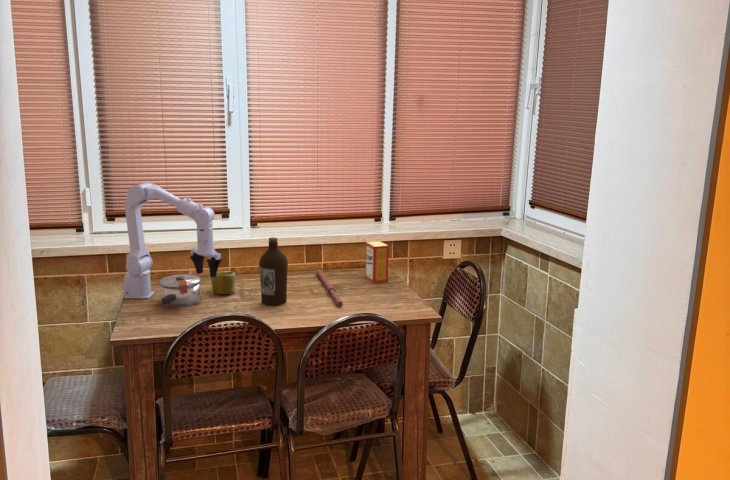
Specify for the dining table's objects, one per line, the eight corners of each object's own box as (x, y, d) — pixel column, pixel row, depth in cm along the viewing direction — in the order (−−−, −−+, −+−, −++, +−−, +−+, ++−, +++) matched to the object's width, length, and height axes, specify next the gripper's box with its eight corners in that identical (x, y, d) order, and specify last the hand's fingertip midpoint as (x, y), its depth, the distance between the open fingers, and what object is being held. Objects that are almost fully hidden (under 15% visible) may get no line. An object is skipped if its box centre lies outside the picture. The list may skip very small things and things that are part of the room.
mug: (232, 293, 248) (226, 268, 249) (209, 299, 251) (203, 274, 251) (246, 290, 260) (240, 266, 260) (224, 296, 263) (218, 272, 263)
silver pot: (172, 294, 252) (171, 277, 250) (206, 296, 250) (205, 279, 248) (147, 311, 233) (146, 292, 231) (184, 313, 230) (183, 295, 229)
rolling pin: (343, 308, 241) (344, 299, 240) (335, 308, 240) (335, 300, 239) (322, 275, 283) (322, 268, 283) (315, 275, 283) (315, 268, 282)
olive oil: (271, 296, 252) (270, 233, 246) (293, 300, 247) (293, 237, 241) (254, 303, 243) (252, 239, 237) (276, 308, 238) (275, 242, 232)
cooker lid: (158, 279, 246) (158, 271, 246) (198, 275, 252) (197, 268, 251) (162, 295, 227) (162, 287, 227) (204, 291, 233) (204, 283, 232)
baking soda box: (364, 276, 281) (365, 241, 277) (378, 275, 283) (379, 240, 279) (373, 282, 272) (374, 246, 268) (387, 281, 275) (388, 244, 271)
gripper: (226, 240, 239) (227, 276, 242) (200, 235, 247) (202, 269, 250) (212, 244, 233) (213, 280, 236) (185, 238, 241) (187, 273, 244)
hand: (206, 275), depth 243 cm, fingers open, 7 cm apart
